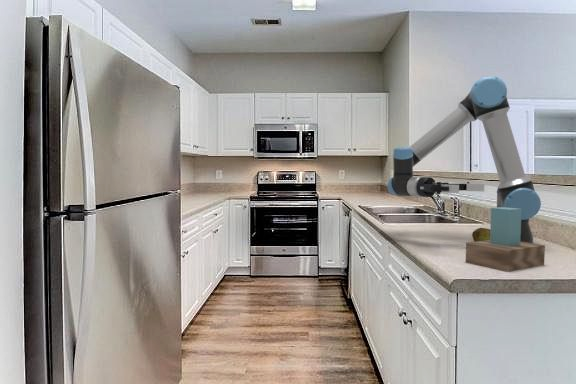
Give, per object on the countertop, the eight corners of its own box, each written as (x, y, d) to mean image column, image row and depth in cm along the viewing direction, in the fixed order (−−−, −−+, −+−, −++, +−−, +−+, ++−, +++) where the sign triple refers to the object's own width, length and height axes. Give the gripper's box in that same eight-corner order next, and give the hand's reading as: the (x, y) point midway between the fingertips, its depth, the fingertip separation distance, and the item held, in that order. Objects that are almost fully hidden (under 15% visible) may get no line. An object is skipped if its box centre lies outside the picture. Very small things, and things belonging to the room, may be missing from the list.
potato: (509, 255, 146) (509, 231, 146) (469, 250, 154) (470, 228, 154) (514, 251, 153) (515, 229, 152) (476, 247, 161) (476, 225, 160)
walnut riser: (501, 256, 144) (502, 238, 143) (544, 264, 131) (544, 245, 131) (465, 262, 135) (466, 242, 134) (507, 271, 122) (508, 250, 122)
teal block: (501, 241, 137) (503, 207, 136) (520, 244, 132) (521, 208, 131) (489, 243, 134) (491, 207, 133) (508, 246, 129) (509, 209, 128)
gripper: (443, 195, 172) (493, 197, 154) (398, 198, 159) (446, 201, 141) (443, 176, 171) (493, 176, 153) (398, 177, 158) (446, 178, 140)
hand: (471, 188), depth 147 cm, fingers open, 13 cm apart
